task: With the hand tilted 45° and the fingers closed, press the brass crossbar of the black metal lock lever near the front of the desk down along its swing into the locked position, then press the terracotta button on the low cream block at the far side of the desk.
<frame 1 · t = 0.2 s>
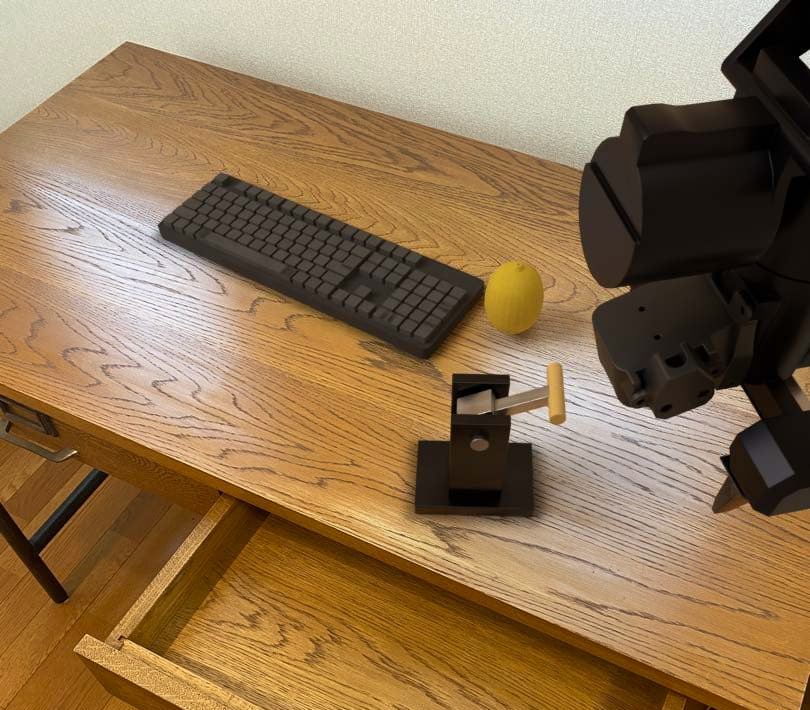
hand: (689, 451, 47), 15 cm above the table, tool pointing down, fingers open, 9 cm apart
black upright frame: (473, 481, 65), on the table
bell block: (684, 247, 79), on the table
button: (692, 222, 77), point 3 cm above the table, slide at 0.1 cm
lemon: (510, 332, 74), on the table
lock lever: (511, 405, 56), point 10 cm above the table, hinge at 25.0°
keyboard: (316, 264, 80), on the table
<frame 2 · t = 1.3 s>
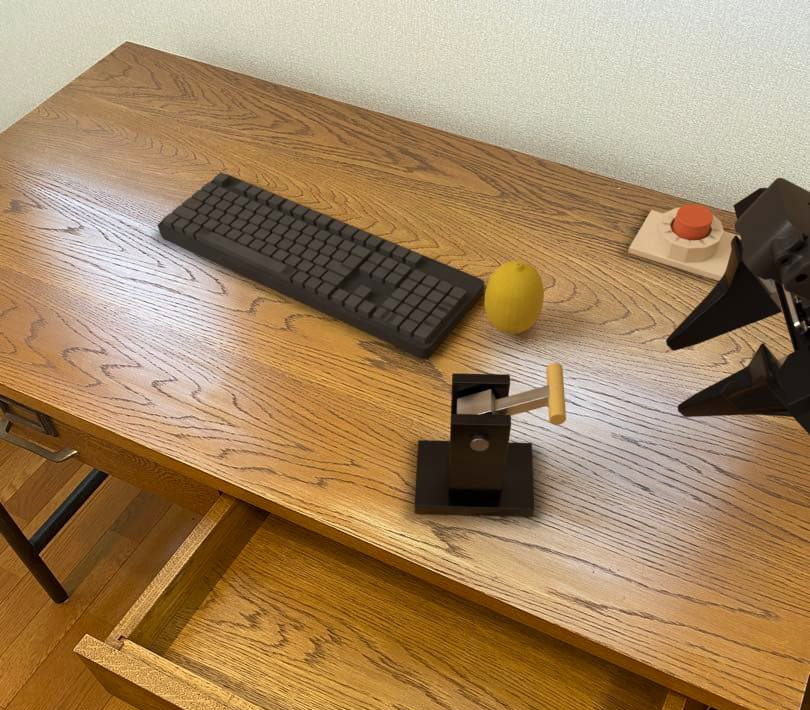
hand: (674, 377, 52), 14 cm above the table, tool tilted 45°, fingers open, 6 cm apart
nothing on the table moved.
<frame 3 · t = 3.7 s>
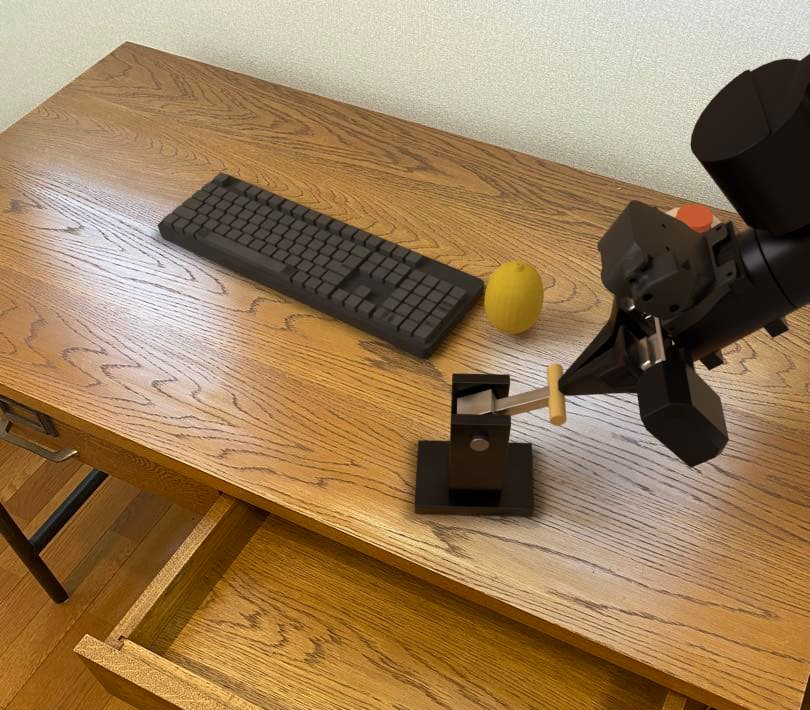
hand: (561, 389, 54), 12 cm above the table, tool tilted 45°, fingers closed, pressing on lock lever
lock lever: (512, 405, 56), point 10 cm above the table, hinge at 24.0°, touching gripper
everything else where it was.
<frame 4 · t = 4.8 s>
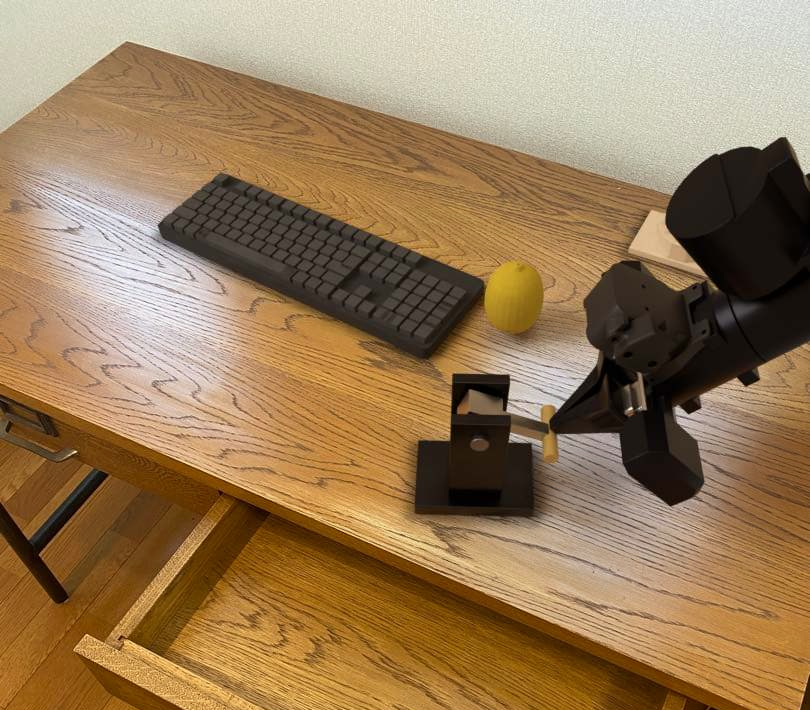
hand: (552, 427, 58), 8 cm above the table, tool tilted 45°, fingers closed, pressing on lock lever
lock lever: (510, 422, 58), point 8 cm above the table, hinge at -21.1°, touching gripper
everything else where it was.
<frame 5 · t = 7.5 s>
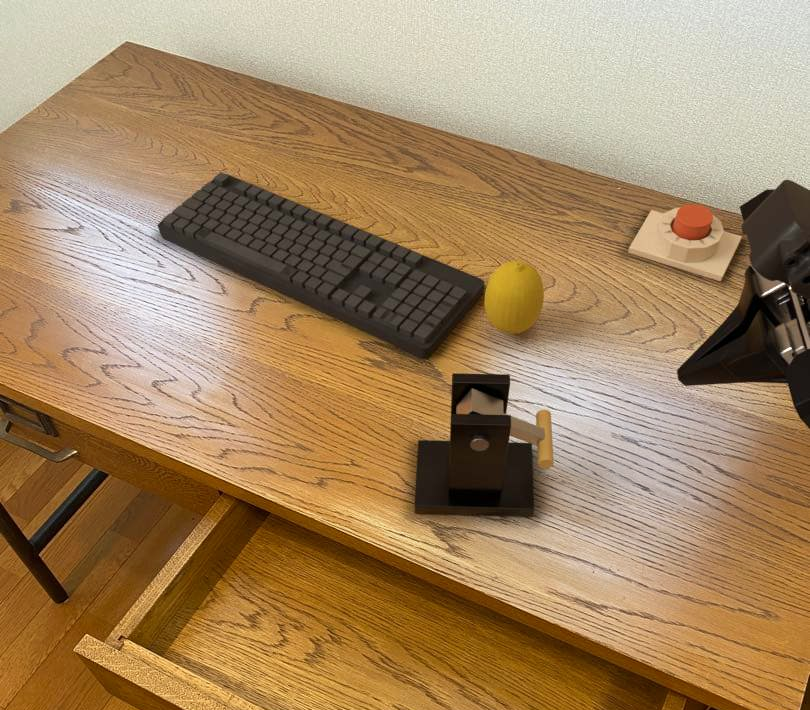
hand: (680, 378, 53), 13 cm above the table, tool tilted 45°, fingers closed
lock lever: (508, 425, 58), point 8 cm above the table, hinge at -27.8°
everything else where it was.
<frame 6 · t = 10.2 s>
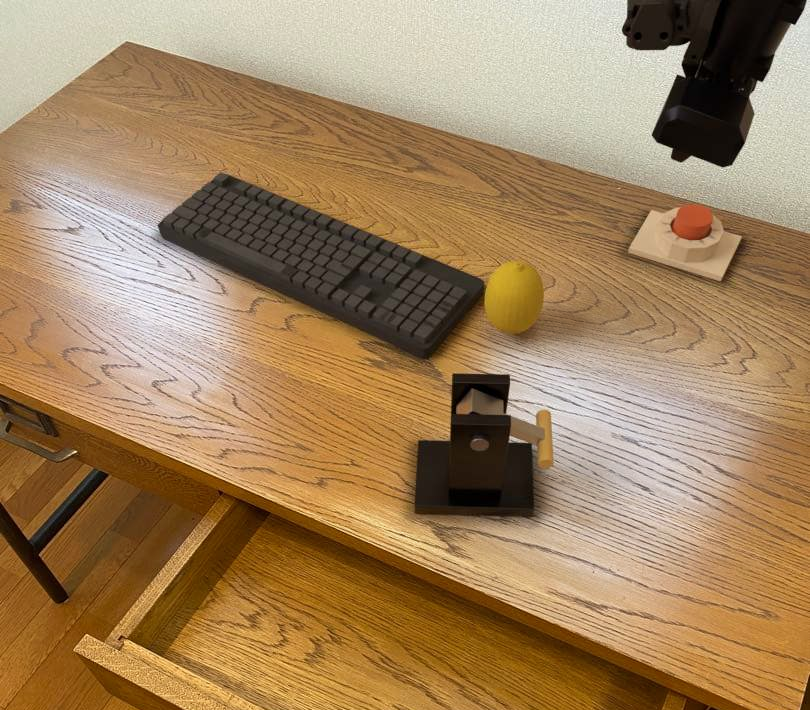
hand: (677, 158, 64), 14 cm above the table, tool pointing down, fingers closed
nothing on the table moved.
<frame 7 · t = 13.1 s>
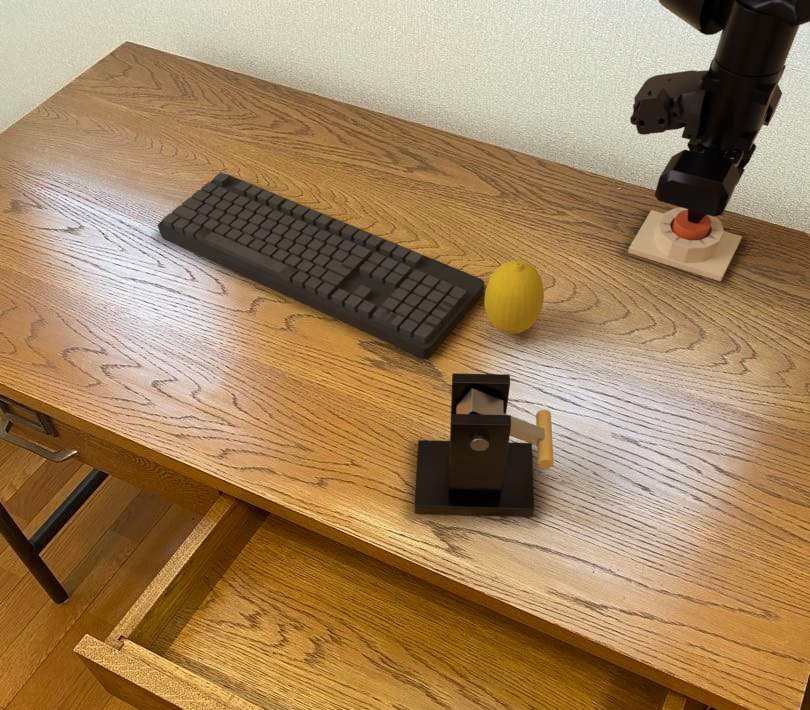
hand: (693, 220, 76), 3 cm above the table, tool pointing down, fingers closed, pressing on button
button: (690, 227, 77), point 2 cm above the table, slide at -0.5 cm, touching gripper
everything else where it was.
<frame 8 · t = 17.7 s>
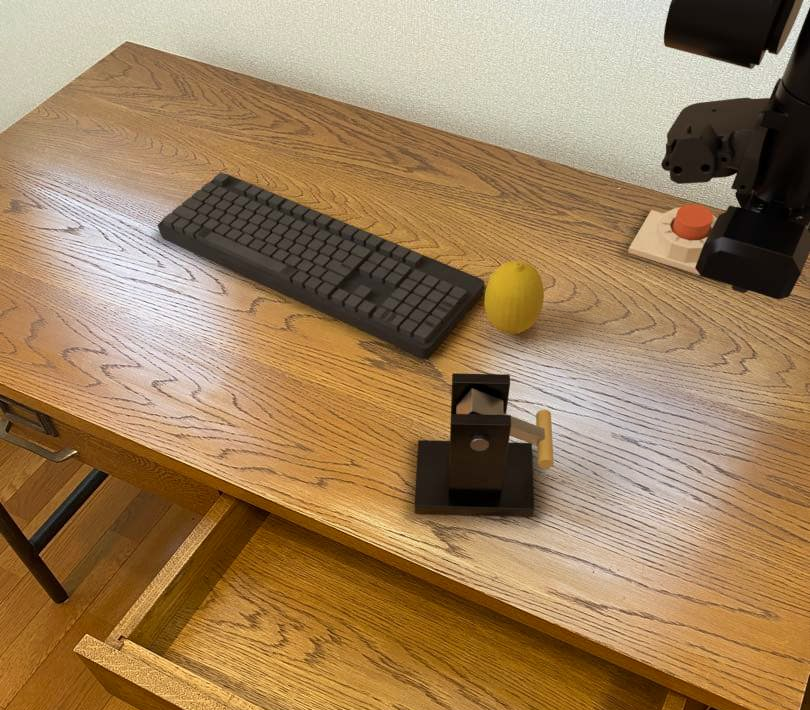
hand: (739, 288, 59), 12 cm above the table, tool pointing down, fingers closed
button: (692, 222, 77), point 3 cm above the table, slide at 0.1 cm
everything else where it was.
at the end: lock lever at -28° (first picture: +25°); button pushed in 1.1 cm at the most during the clip, back to where it started at the end; button slide at 0.1 cm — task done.
